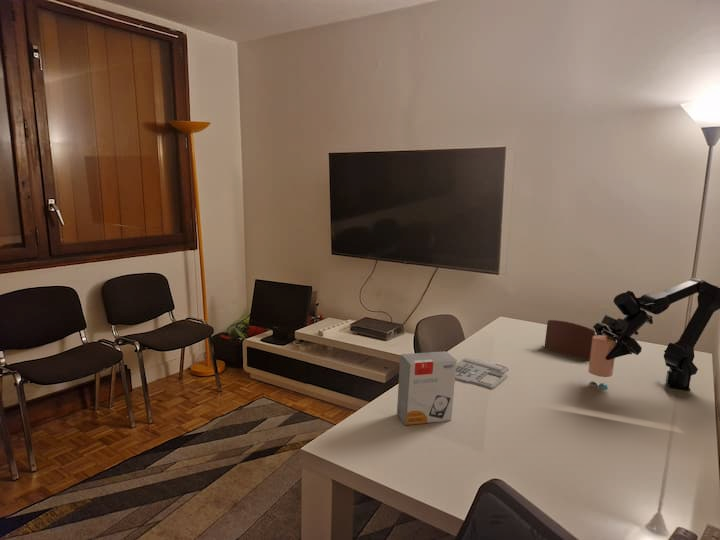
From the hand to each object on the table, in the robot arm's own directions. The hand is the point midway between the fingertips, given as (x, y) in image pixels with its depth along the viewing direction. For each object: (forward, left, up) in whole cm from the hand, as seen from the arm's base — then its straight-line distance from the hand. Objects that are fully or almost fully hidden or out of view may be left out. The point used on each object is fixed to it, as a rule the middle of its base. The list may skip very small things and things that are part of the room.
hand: (598, 354), depth 165 cm
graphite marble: (0, -1, -12) cm, 12 cm away
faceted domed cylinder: (-1, -1, -7) cm, 7 cm away
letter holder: (+6, -39, -14) cm, 42 cm away
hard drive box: (+51, +43, -14) cm, 68 cm away
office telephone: (+40, +1, -14) cm, 42 cm away
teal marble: (-3, -1, -12) cm, 12 cm away
